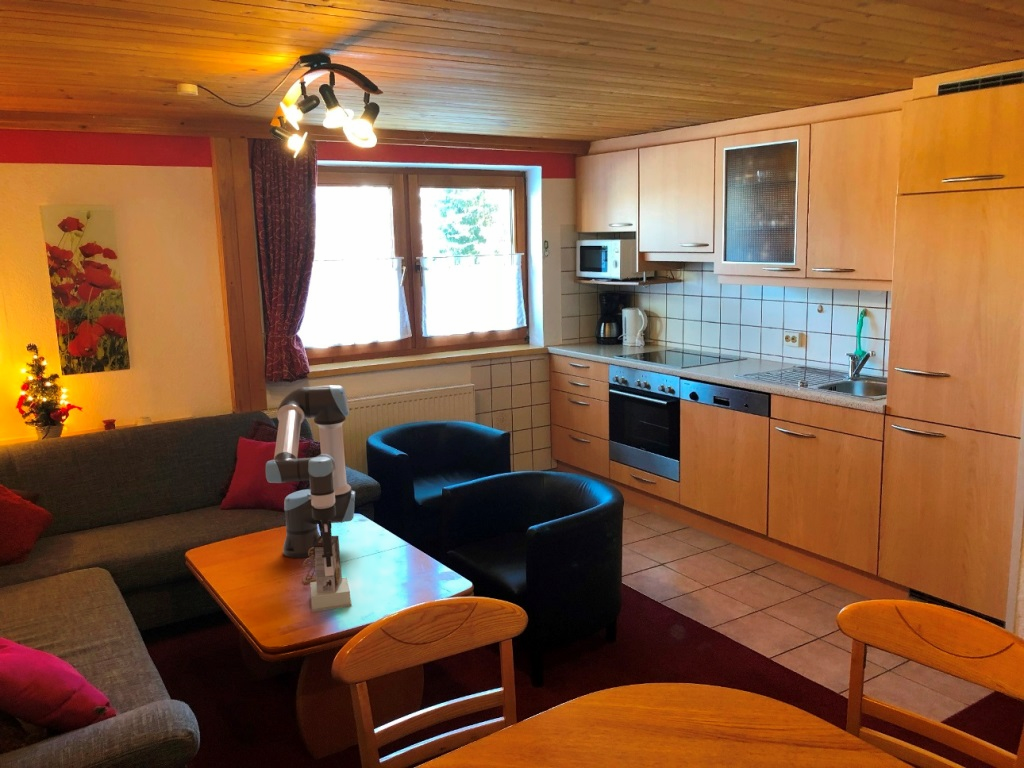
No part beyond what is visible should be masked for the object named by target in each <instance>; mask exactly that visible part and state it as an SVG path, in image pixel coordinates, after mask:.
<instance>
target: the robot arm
mask: <svg viewBox="0 0 1024 768" xmlns="http://www.w3.org/2000/svg"><path fill="white" fill-rule="evenodd" d="M347 396H348V395H347V393H346V390H345V388H344V387H343V386H342V385H338V384H337V385H336V384H335V385H333V384H330V385H315V386H301V387H298V388H296V389H294V390H292V391H290V392H289V393H288V394H286V395H285V396H284V398H283V399H282V400H281V401H280V404H279V405H278V408H277V412H276V413H277V414H276V417H277V420H278V426H277V434H276V439H275V440H276V441H275V448H274V455H273V459H271V460H268V461H266V463H265V478H266V480H267V482H268V483H270V484H271V483H272V484H274V483H275V484H282V483H283V484H284V483H294V482H305V481H306V482H307V481H308V482H309V488H308V489H307V488H306V489H300V490H296V491H294V492H292V493H289V494H288V495H286V497H285V498H284V501H283V502H284V503H283V504H284V505H283V506H284V508H283V510H284V517H285V518H284V519H285V530H286V536H285V539H284V543H283V547H282V549H283V550H282V551H283V555H284V556H285V557H288V558H293V559H302V558H310V556H311V555H314V552H313V551H314V549H311V550H310V552H311V551H312V552H313V553H312V554H311V553H309V555H310V554H311V555H310V556H309V555H308V551H309V549H310V548H312V547H314V544H315V543H316V541H317V540H318V538H319V537H320V536H321V537H322V538H323V549H324V555H322V558H324V567H325V576H331V575H334V569H333V554H332V546H331V536H333V535H332V524H336V523H337V524H338V523H341V524H342V523H345V522H351V521H353V520H354V518H355V517H354V516H355V515H354V514H355V501H356V499H355V497H356V491H355V490H352V487H351V485H350V484H348V483H347V472H346V471H347V470H346V460H345V459H346V458H345V446H344V444H345V443H344V433H343V432H344V431H343V424H344V423H345V422H346V420H347V417H348V416H349V415H350V408H349V402H348V397H347ZM305 419H313V421H314V425H315V426H318V433H319V435H318V436H319V444H320V447H319V448H320V454H319V455H317V456H314V457H302V458H301V457H300V458H298V455H299V443H300V436H301V435H300V433H301V425H302V423H303V422H304V420H305ZM328 552H330V553H328ZM311 557H312V556H311Z"/></svg>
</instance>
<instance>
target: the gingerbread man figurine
mask: <svg viewBox="0 0 1024 768" xmlns="http://www.w3.org/2000/svg"><path fill="white" fill-rule="evenodd" d="M311 549H314V547H312V548H310V549H309V551H308V555H309V553H311V554H312V553H313V552H314V551H313V552H312V551H311V552H310V550H311ZM311 554H310V555H311ZM310 555H309V556H310ZM308 560H311V561H312V562H313V564H312V562H311V561H310V562H307V563H306V561H308ZM302 568H303V569H305V570H306V569H308V568H309V570H308V572H307V574H306V576H305V577H304V578H301V583H302V584H303V585H304V586H307V585H310V582H316V575H314V574H315V573H316V570H315V557H314V555H311V556H310V557H306V559H304V561H303V563H302ZM312 569H313V572H312V574H311V575H310V572H311V570H312Z"/></svg>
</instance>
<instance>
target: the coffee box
mask: <svg viewBox="0 0 1024 768" xmlns="http://www.w3.org/2000/svg"><path fill="white" fill-rule="evenodd" d="M331 546H332V554H333V569H334V575H331V576H325V567H324V558H322V555H324V549H323V538H322V537H321V535H320V537H319V538H318V540H317V541H316V543H315V544H314V557H315V559H314V560H315V562H314V563H315V568H314V569H315V570H316V572H315V576H316V583H317V592H318V593H321V592H336V591H337V589H338V587H339V585H340V584H341V582H342V578H343V576H342V564H341V553H340V551H341V550H340V539H339V535H331ZM328 553H330V552H328Z"/></svg>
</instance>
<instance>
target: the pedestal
mask: <svg viewBox="0 0 1024 768" xmlns="http://www.w3.org/2000/svg"><path fill="white" fill-rule="evenodd" d="M309 586H310V594H309V595H310V596H309V598H310V606H311V607H310V608H311V613H315V612H320V611H326V610H327V611H328V610H333V609H334V610H335V609H341V608H347V607H352V606H353V605H352V604H353V603H352V599H351V593H350V592H351V591H350V586H349V583H348V577H342V582H341V584H340V585H339V587H338V589H337V591H336V592H321V593H318V592H317V583H316V582H310V584H309Z"/></svg>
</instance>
